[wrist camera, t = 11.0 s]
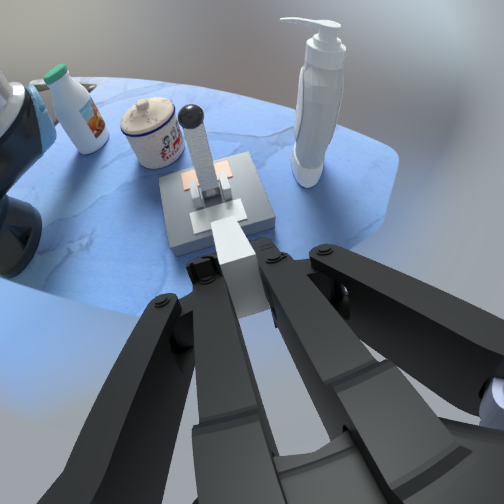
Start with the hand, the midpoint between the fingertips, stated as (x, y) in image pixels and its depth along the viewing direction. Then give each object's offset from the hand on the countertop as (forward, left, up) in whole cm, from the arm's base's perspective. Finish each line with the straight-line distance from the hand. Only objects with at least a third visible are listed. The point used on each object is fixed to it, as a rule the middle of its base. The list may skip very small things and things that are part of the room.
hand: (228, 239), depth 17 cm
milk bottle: (-6, +45, -19) cm, 49 cm away
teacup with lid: (+5, +31, -19) cm, 37 cm away
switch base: (+5, +14, -18) cm, 24 cm away
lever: (+5, +14, -14) cm, 21 cm away
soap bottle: (+20, +13, -19) cm, 30 cm away
